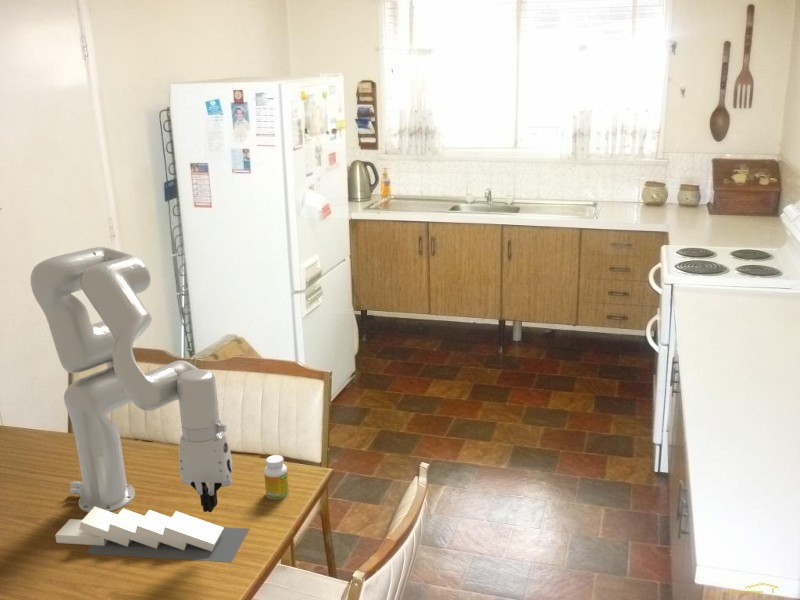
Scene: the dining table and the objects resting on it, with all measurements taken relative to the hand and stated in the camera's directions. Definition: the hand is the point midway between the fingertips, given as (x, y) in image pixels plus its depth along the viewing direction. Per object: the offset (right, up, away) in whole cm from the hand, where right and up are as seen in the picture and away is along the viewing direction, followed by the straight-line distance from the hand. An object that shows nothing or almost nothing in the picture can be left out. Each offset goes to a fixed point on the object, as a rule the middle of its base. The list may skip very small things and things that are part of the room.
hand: (209, 508), depth 161 cm
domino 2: (-17, -7, +4) cm, 19 cm away
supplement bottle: (+11, -3, +22) cm, 24 cm away
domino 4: (-5, -7, +3) cm, 9 cm away
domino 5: (+1, -7, +2) cm, 8 cm away
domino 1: (-23, -7, +5) cm, 24 cm away
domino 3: (-11, -7, +4) cm, 14 cm away
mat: (-10, -9, +4) cm, 14 cm away
